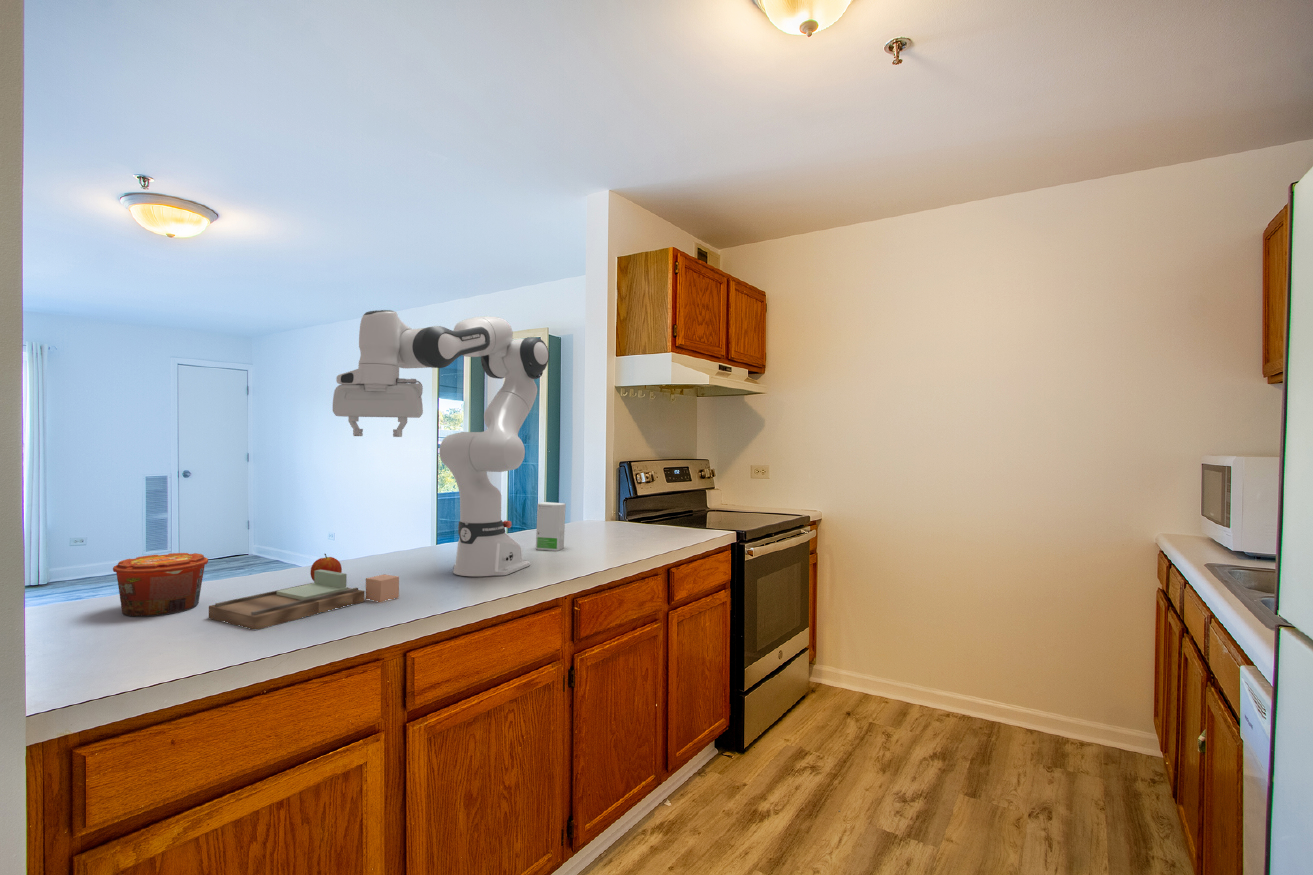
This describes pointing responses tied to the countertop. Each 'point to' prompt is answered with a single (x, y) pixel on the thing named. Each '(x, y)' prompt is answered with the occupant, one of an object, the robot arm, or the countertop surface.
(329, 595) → the puzzle board
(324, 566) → the fruit
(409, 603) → the countertop surface
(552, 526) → the skincare box
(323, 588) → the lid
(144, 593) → the food container
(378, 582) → the terracotta block
